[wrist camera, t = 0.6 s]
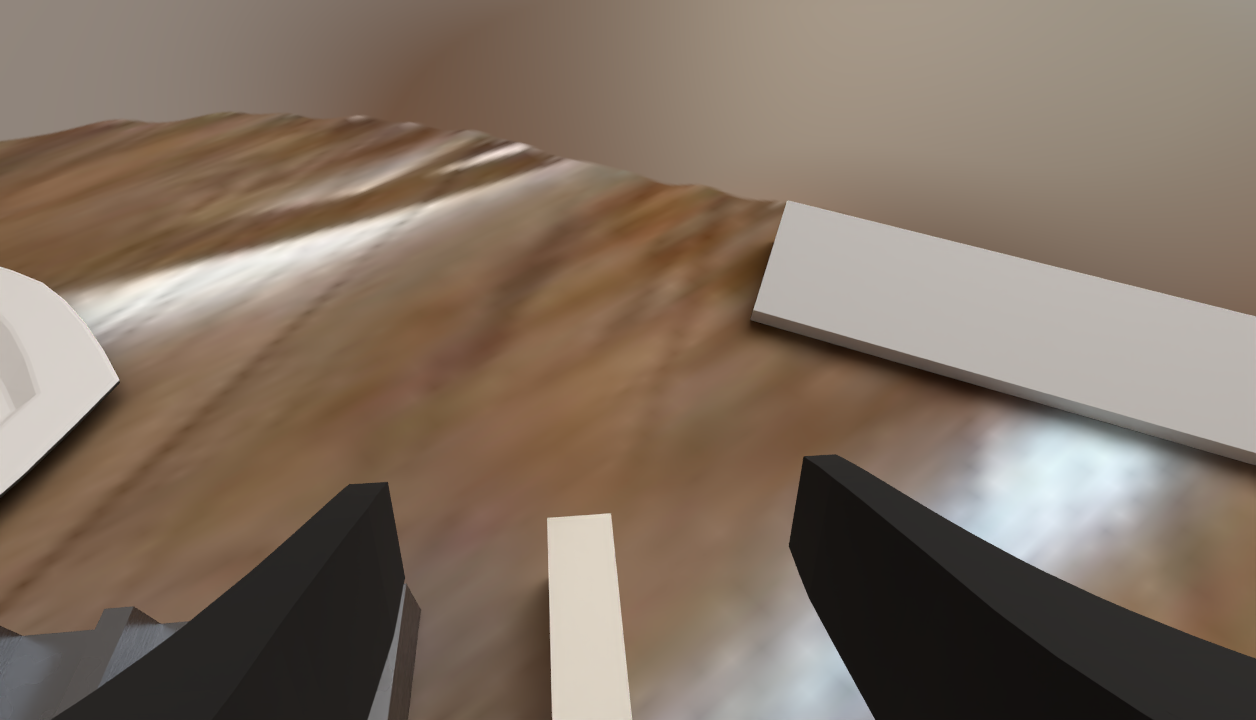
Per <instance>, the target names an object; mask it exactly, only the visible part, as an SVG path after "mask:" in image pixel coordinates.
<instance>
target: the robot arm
mask: <svg viewBox="0 0 1256 720" xmlns="http://www.w3.org/2000/svg"><path fill="white" fill-rule="evenodd" d="M789 548H790V550H791V553H792V556H793V558H794V561H795V564H796V566H797V569H798V572H799V575H800V577H801V579H802V582H803V584H804V587H805V589H806V592H807V594H808V597H809V599H810V601H811V603H812V605H813V606H814V608H815V610H816V612H817V614H818V616H819V618H820V620H821V621H822V623H823V625H824V627H825V629H826V631H827V633H828V634H829V636H830V638H831V640H832V642H833V644H834V645H835V647H836V649H837V651H838V653H839V655H840V656H841V658H842V660H843V662H844V664H845V666H846V667H847V669H848V671H849V673H850V675H851V676H852V678H853V680H854V682H855V684H856V686H857V687H858V689H859V691H860V693H861V695H862V696H863V698H864V700H865V702H866V704H867V706H868V707H869V709H870V711H871V713H872V715H873V717H874V718H875V720H1256V659H1255V658H1252V657H1250V656H1247V655H1244V654H1241V653H1238V652H1236V651H1233V650H1230V649H1227V648H1225V647H1222V646H1219V645H1217V644H1214V643H1211V642H1208V641H1206V640H1203V639H1200V638H1198V637H1195V636H1192V635H1190V634H1187V633H1185V632H1182V631H1180V630H1177V629H1175V628H1172V627H1170V626H1167V625H1165V624H1162V623H1160V622H1157V621H1155V620H1152V619H1150V618H1147V617H1145V616H1142V615H1140V614H1138V613H1135V612H1133V611H1130V610H1128V609H1125V608H1123V607H1121V606H1118V605H1116V604H1114V603H1111V602H1109V601H1107V600H1105V599H1102V598H1100V597H1098V596H1095V595H1093V594H1091V593H1089V592H1087V591H1085V590H1083V589H1080V588H1078V587H1076V586H1074V585H1072V584H1070V583H1068V582H1065V581H1063V580H1061V579H1059V578H1057V577H1055V576H1053V575H1050V574H1048V573H1046V572H1044V571H1042V570H1040V569H1038V568H1036V567H1034V566H1032V565H1030V564H1028V563H1026V562H1024V561H1022V560H1020V559H1018V558H1016V557H1014V556H1012V555H1011V554H1009V553H1007V552H1005V551H1003V550H1001V549H999V548H998V547H996V546H994V545H992V544H990V543H988V542H986V541H984V540H983V539H981V538H979V537H977V536H975V535H973V534H972V533H970V532H968V531H966V530H965V529H963V528H961V527H959V526H958V525H956V524H954V523H952V522H951V521H949V520H947V519H945V518H944V517H942V516H940V515H939V514H937V513H935V512H933V511H932V510H930V509H928V508H927V507H925V506H923V505H922V504H920V503H918V502H917V501H915V500H913V499H912V498H910V497H908V496H907V495H905V494H903V493H902V492H900V491H898V490H897V489H895V488H894V487H892V486H890V485H889V484H887V483H885V482H884V481H882V480H880V479H879V478H877V477H875V476H874V475H872V474H870V473H869V472H867V471H865V470H864V469H862V468H860V467H858V466H857V465H855V464H853V463H851V462H849V461H848V460H846V459H844V458H842V457H840V456H838V455H836V454H835V455H819V456H804V458H803V464H802V470H801V476H800V482H799V488H798V494H797V500H796V506H795V512H794V518H793V524H792V530H791V536H790V542H789ZM404 580H405V575H404V569H403V564H402V558H401V553H400V547H399V542H398V536H397V531H396V525H395V519H394V514H393V508H392V503H391V497H390V492H389V486H388V482H381V483H365V484H349V485H348V486H347V487H345V488H344V489H343V490H342V491H341V492H339V493H338V494H337V495H336V496H335V497H334V498H333V499H332V500H330V501H329V502H328V503H327V504H326V505H325V506H324V507H323V508H322V509H320V510H319V511H318V512H317V513H316V514H315V515H314V516H313V517H312V518H311V519H309V520H308V521H307V522H306V523H305V524H304V525H303V526H302V527H301V528H300V529H298V530H297V531H296V532H295V533H294V534H293V535H292V536H291V537H289V538H288V539H287V540H286V541H285V542H284V543H283V544H282V545H280V546H279V547H278V548H277V549H276V550H275V551H274V552H272V553H271V554H270V555H269V556H268V557H267V558H266V559H265V560H263V561H262V562H261V563H260V564H259V565H258V566H257V567H255V568H254V569H253V570H252V571H251V572H250V573H248V574H247V575H246V576H245V577H244V578H242V579H241V580H240V581H239V582H237V583H236V584H235V585H234V586H232V587H231V588H230V589H229V590H228V591H226V592H225V593H224V594H223V595H221V596H220V597H219V598H218V599H216V600H215V601H214V602H213V603H212V604H210V605H209V606H208V607H207V608H205V609H204V610H203V611H202V612H200V613H199V614H198V615H197V616H196V617H194V618H193V619H192V620H191V621H189V622H188V623H187V624H186V625H184V626H183V627H182V628H181V629H179V630H178V631H177V632H175V633H174V634H173V635H171V636H170V637H169V638H167V639H166V640H165V641H163V642H162V643H161V644H159V645H158V646H157V647H155V648H154V649H153V650H151V651H150V652H149V653H147V654H146V655H144V656H143V657H142V658H140V659H139V660H137V661H136V662H135V663H133V664H132V665H130V666H129V667H128V668H126V669H125V670H123V671H122V672H120V673H119V674H118V675H116V676H115V677H113V678H112V679H111V680H109V681H108V682H106V683H105V684H103V685H102V686H101V687H99V688H98V689H96V690H95V691H93V692H92V693H90V694H89V695H88V696H86V697H85V698H83V699H82V700H80V701H79V702H77V703H76V704H74V705H73V706H71V707H69V708H68V709H66V710H65V711H63V712H62V713H60V714H59V715H57V716H55V717H54V718H52V719H51V720H368V717H369V714H370V710H371V707H372V704H373V701H374V698H375V695H376V692H377V689H378V686H379V682H380V679H381V676H382V673H383V670H384V667H385V663H386V660H387V657H388V654H389V651H390V647H391V644H392V641H393V638H394V633H395V628H396V623H397V618H398V613H399V608H400V602H401V597H402V591H403V585H404Z"/></svg>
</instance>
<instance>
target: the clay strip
mask: <svg viewBox="0 0 1256 720" xmlns="http://www.w3.org/2000/svg"><path fill="white" fill-rule="evenodd" d="M547 524H548V565H549V606H550V648H551V689H552V720H632V714H631V705H630V695H629V685H628V676H627V666H626V656H625V647H624V637H623V627H622V618H621V608H620V598H619V589H618V579H617V569H616V560H615V550H614V540H613V531H612V521H611V514H597V515H583V516H569V517H555V518H547Z"/></svg>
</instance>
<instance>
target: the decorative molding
mask: <svg viewBox="0 0 1256 720" xmlns="http://www.w3.org/2000/svg"><path fill="white" fill-rule="evenodd" d="M750 320H752V321H755V322H759V323H762V324H766V325H769V326H773V327H776V328H780V329H783V330H787V331H790V332H794V333H797V334H801V335H804V336H807V337H811V338H814V339H818V340H821V341H825V342H828V343H832V344H835V345H839V346H842V347H846V348H849V349H853V350H856V351H860V352H863V353H866V354H870V355H873V356H877V357H880V358H884V359H887V360H891V361H894V362H898V363H901V364H905V365H908V366H912V367H915V368H919V369H922V370H926V371H929V372H932V373H936V374H939V375H943V376H946V377H950V378H953V379H957V380H960V381H964V382H967V383H971V384H974V385H978V386H981V387H985V388H988V389H991V390H995V391H998V392H1002V393H1005V394H1009V395H1012V396H1016V397H1019V398H1023V399H1026V400H1030V401H1033V402H1037V403H1040V404H1044V405H1047V406H1050V407H1054V408H1057V409H1061V410H1064V411H1068V412H1071V413H1075V414H1078V415H1082V416H1085V417H1089V418H1092V419H1096V420H1099V421H1103V422H1106V423H1110V424H1113V425H1116V426H1120V427H1123V428H1127V429H1130V430H1134V431H1137V432H1141V433H1144V434H1148V435H1151V436H1155V437H1158V438H1162V439H1165V440H1169V441H1172V442H1175V443H1179V444H1182V445H1186V446H1189V447H1193V448H1196V449H1200V450H1203V451H1207V452H1210V453H1214V454H1217V455H1221V456H1224V457H1228V458H1231V459H1234V460H1238V461H1241V462H1245V463H1248V464H1252V465H1255V466H1256V317H1255V316H1251V315H1247V314H1243V313H1239V312H1235V311H1231V310H1227V309H1223V308H1219V307H1215V306H1211V305H1207V304H1203V303H1199V302H1195V301H1191V300H1187V299H1183V298H1179V297H1175V296H1170V295H1167V294H1163V293H1159V292H1155V291H1151V290H1147V289H1143V288H1139V287H1135V286H1130V285H1127V284H1122V283H1119V282H1115V281H1110V280H1106V279H1102V278H1098V277H1094V276H1090V275H1086V274H1082V273H1078V272H1074V271H1070V270H1066V269H1062V268H1058V267H1054V266H1050V265H1046V264H1042V263H1038V262H1034V261H1030V260H1026V259H1022V258H1018V257H1014V256H1010V255H1006V254H1002V253H998V252H994V251H989V250H986V249H982V248H978V247H974V246H970V245H966V244H961V243H957V242H953V241H949V240H945V239H941V238H937V237H933V236H929V235H925V234H921V233H917V232H913V231H909V230H905V229H901V228H897V227H893V226H889V225H885V224H881V223H877V222H873V221H869V220H865V219H861V218H857V217H853V216H849V215H845V214H841V213H837V212H833V211H829V210H825V209H821V208H816V207H812V206H808V205H804V204H800V203H796V202H792V201H788V200H787V203H786V206H785V210H784V213H783V216H782V219H781V222H780V225H779V229H778V232H777V235H776V238H775V241H774V244H773V248H772V251H771V254H770V257H769V261H768V264H767V267H766V271H765V274H764V277H763V280H762V283H761V287H760V290H759V293H758V296H757V300H756V303H755V306H754V309H753V313H752V316H751V319H750Z"/></svg>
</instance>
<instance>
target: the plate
mask: <svg viewBox="0 0 1256 720" xmlns="http://www.w3.org/2000/svg"><path fill="white" fill-rule="evenodd" d="M119 383H120V381H119V378H118V376H117V374H116V372H115V370H114V369H113V367H112V365H111V363H110V361H109V359H108V357H107V355H106V353H105V352H104V350H103V349H102V347H101V346H100V344H99V343H98V341H97V340H96V338H95V337H94V335H93V334H92V332H91V331H90V329H89V328H88V326H87V325H86V323H85V322H84V321H83V320H82V318H81V317H80V316H79V315H78V314H77V313H76V312H75V311H74V310H73V308H72V307H71V306H70V305H69V304H68V303H67V302H66V301H65V300H64V299H63V298H62V297H60V296H59V295H58V294H56V293H55V292H54V291H52V290H51V289H50V288H49V287H47V286H46V285H45V284H43V283H42V282H40V281H37V280H35V279H32V278H30V277H27V276H25V275H22V274H20V273H17V272H15V271H12V270H9V269H6V268H2V267H0V498H1V497H2V496H3V495H4V494H5V493H7V492H8V491H9V490H10V489H11V488H12V487H13V486H15V485H16V484H17V483H18V482H19V481H20V480H22V479H23V478H24V477H25V476H26V475H27V474H28V473H29V472H30V471H31V470H32V469H33V468H34V467H35V466H36V465H37V464H38V463H39V462H40V461H41V460H42V459H43V458H45V457H46V456H47V455H48V454H49V453H50V452H51V451H52V450H53V449H54V448H55V447H56V446H57V445H58V444H59V443H60V442H61V441H62V440H63V439H64V438H65V437H66V436H67V435H68V434H69V433H70V432H71V431H72V430H73V429H74V428H75V427H76V426H77V425H78V424H79V423H80V422H81V421H82V420H83V419H84V418H85V417H86V416H87V415H88V414H89V413H90V412H91V411H92V410H93V409H94V408H95V407H96V406H97V405H98V404H99V403H100V402H101V401H102V400H103V399H104V398H105V397H106V396H107V395H108V394H109V393H110V392H111V391H112V390H113V389H114V388H115V387H116V386H117V385H118V384H119Z"/></svg>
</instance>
